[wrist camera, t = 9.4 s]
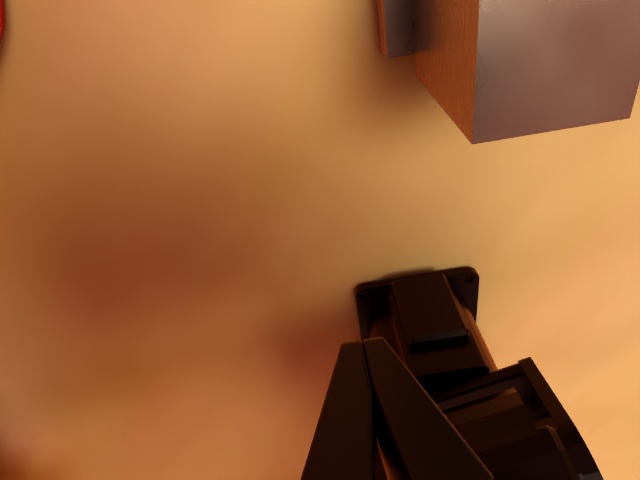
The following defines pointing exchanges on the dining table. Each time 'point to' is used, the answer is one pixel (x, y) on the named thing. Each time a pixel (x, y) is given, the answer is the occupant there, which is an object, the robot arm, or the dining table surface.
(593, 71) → the gauge rail
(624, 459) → the dining table surface
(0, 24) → the canned food
